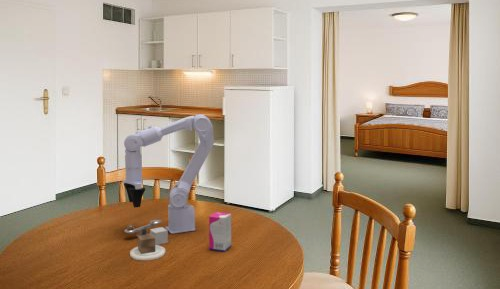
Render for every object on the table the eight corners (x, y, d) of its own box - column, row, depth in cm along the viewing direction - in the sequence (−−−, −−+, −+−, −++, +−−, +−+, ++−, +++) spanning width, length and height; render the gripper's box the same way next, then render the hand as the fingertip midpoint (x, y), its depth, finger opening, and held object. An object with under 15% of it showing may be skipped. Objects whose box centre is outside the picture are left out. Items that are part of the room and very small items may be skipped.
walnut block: (152, 247, 148) (151, 233, 147) (155, 251, 144) (155, 238, 143) (138, 249, 146) (137, 235, 145) (141, 254, 142) (140, 240, 141)
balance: (160, 232, 166) (159, 219, 165) (162, 235, 162) (162, 222, 162) (123, 237, 160) (123, 223, 160) (126, 240, 157) (125, 227, 156)
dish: (160, 245, 152) (160, 242, 152) (169, 257, 143) (169, 253, 142) (126, 250, 148) (126, 247, 147) (134, 262, 138) (133, 259, 138)
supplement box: (231, 246, 152) (231, 213, 151) (225, 252, 147) (224, 218, 145) (215, 244, 154) (215, 211, 153) (208, 250, 149) (208, 216, 147)
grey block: (162, 239, 159) (161, 227, 158) (167, 243, 155) (167, 230, 155) (150, 241, 156) (149, 229, 156) (155, 245, 153) (155, 232, 152)
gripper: (118, 165, 167) (119, 200, 169) (126, 172, 154) (127, 210, 156) (137, 163, 170) (138, 198, 172) (146, 170, 158) (147, 208, 159)
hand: (134, 204), depth 164 cm, fingers open, 7 cm apart
